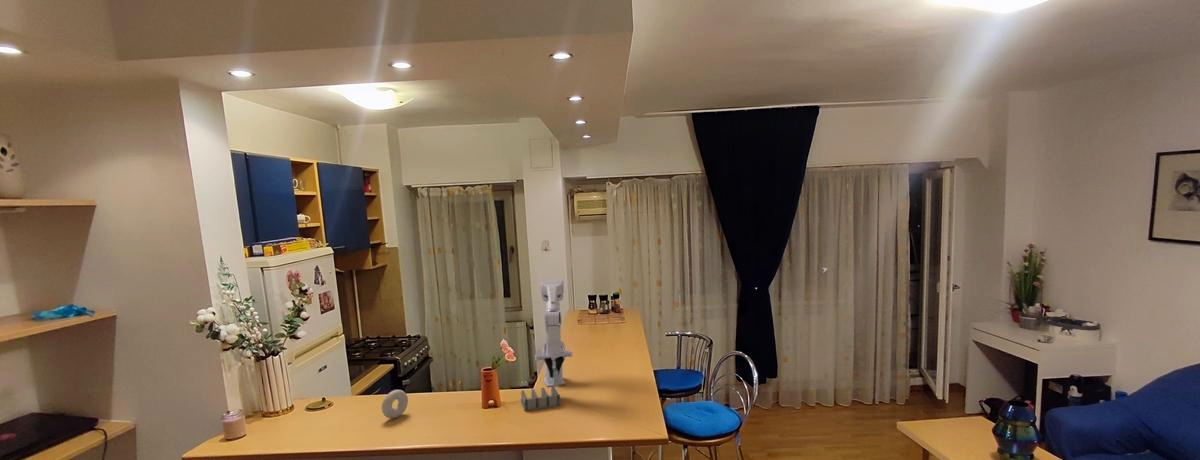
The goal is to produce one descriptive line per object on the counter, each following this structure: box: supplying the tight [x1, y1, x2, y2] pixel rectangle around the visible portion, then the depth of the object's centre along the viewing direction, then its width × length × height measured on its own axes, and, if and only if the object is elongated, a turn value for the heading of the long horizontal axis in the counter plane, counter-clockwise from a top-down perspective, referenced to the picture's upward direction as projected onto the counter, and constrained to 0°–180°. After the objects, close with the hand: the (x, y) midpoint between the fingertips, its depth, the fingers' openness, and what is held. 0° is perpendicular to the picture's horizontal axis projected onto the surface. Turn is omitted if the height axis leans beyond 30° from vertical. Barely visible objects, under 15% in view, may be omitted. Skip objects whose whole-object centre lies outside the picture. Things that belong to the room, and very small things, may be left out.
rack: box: [520, 386, 561, 412], centre depth 179 cm, size 10×14×4 cm
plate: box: [550, 366, 560, 388], centre depth 183 cm, size 7×2×6 cm, turn 19°
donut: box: [381, 389, 409, 420], centre depth 169 cm, size 10×4×10 cm, turn 149°
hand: (554, 376), depth 183 cm, fingers closed on plate, 2 cm apart
